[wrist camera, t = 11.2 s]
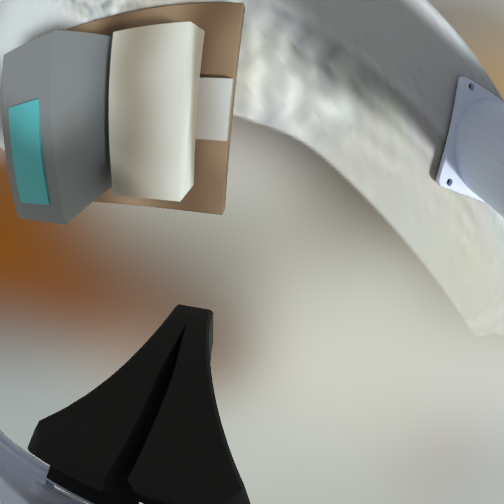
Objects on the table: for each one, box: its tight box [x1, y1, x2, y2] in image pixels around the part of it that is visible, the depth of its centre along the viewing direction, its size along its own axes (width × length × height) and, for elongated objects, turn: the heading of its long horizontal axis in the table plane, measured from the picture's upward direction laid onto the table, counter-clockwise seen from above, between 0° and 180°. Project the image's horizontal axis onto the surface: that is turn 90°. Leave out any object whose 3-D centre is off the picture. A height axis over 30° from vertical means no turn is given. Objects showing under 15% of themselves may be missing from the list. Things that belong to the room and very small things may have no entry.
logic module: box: [2, 30, 113, 224], centre depth 11 cm, size 4×9×6 cm, turn 174°
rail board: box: [66, 3, 245, 215], centre depth 13 cm, size 17×13×4 cm
